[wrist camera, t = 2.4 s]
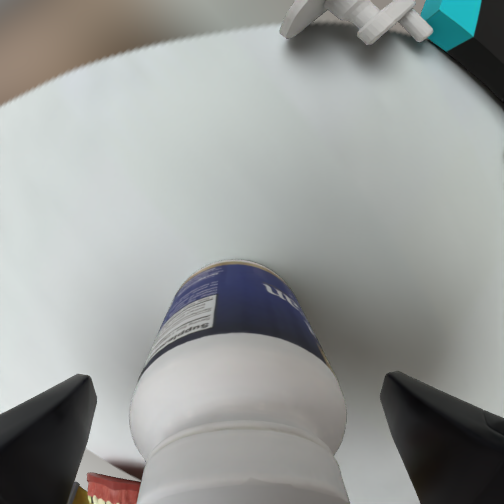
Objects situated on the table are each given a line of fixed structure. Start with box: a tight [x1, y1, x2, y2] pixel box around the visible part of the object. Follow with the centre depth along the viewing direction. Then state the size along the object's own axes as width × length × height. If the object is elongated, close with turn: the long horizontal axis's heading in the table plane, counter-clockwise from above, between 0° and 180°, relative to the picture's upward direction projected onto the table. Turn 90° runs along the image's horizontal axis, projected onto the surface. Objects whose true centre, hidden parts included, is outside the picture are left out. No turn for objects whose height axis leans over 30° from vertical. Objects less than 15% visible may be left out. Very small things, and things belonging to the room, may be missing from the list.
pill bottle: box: [129, 260, 350, 504], centre depth 9 cm, size 5×5×10 cm
